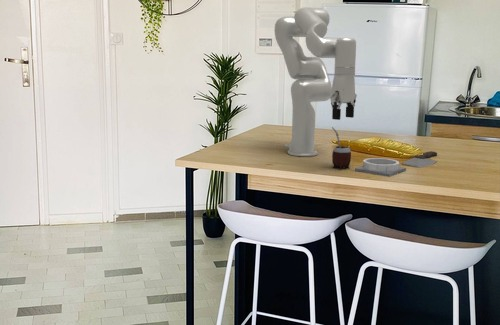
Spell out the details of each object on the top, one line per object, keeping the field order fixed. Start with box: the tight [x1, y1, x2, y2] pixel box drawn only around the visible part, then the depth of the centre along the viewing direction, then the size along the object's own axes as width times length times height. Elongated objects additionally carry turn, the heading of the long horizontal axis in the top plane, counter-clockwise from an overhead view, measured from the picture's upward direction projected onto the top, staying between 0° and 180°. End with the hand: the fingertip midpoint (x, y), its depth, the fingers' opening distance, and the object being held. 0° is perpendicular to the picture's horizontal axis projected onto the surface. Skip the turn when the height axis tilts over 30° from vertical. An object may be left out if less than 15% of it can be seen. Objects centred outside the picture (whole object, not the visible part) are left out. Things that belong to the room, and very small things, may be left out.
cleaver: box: [401, 150, 438, 169], centre depth 244 cm, size 29×10×2 cm, turn 145°
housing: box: [354, 157, 407, 178], centre depth 225 cm, size 14×14×4 cm
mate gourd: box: [331, 127, 352, 171], centre depth 227 cm, size 8×8×15 cm
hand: (343, 118), depth 225 cm, fingers open, 9 cm apart
